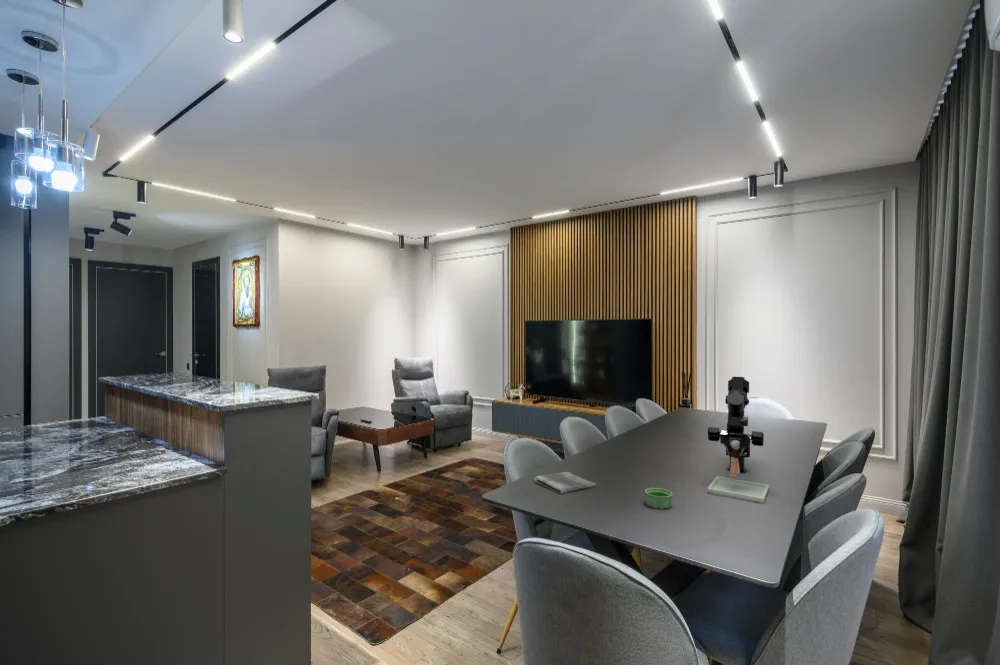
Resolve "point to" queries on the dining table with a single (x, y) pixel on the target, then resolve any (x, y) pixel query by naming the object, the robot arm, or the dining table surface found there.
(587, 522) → the dining table surface
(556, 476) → the dish towel
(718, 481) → the sage tray
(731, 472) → the grandmother figurine
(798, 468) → the dining table surface
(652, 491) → the ramekin
